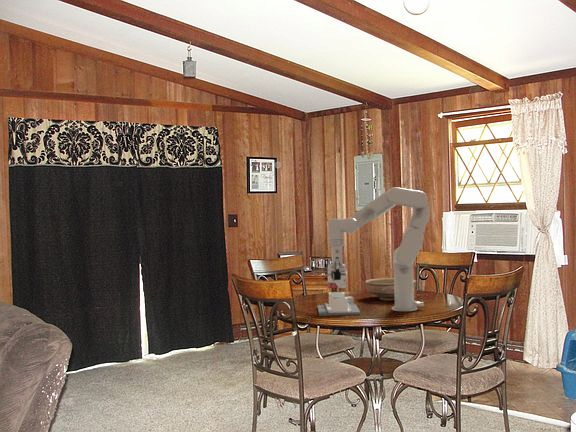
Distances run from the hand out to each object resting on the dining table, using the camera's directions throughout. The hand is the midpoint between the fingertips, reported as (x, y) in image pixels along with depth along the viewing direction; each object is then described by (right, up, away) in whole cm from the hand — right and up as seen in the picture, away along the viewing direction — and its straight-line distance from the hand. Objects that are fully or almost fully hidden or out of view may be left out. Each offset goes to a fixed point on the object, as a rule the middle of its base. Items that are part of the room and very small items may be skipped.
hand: (337, 278), depth 322 cm
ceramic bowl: (+33, -15, +38) cm, 52 cm away
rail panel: (+1, -16, 0) cm, 16 cm away
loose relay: (+8, -16, +21) cm, 28 cm away
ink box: (0, -5, 0) cm, 5 cm away
